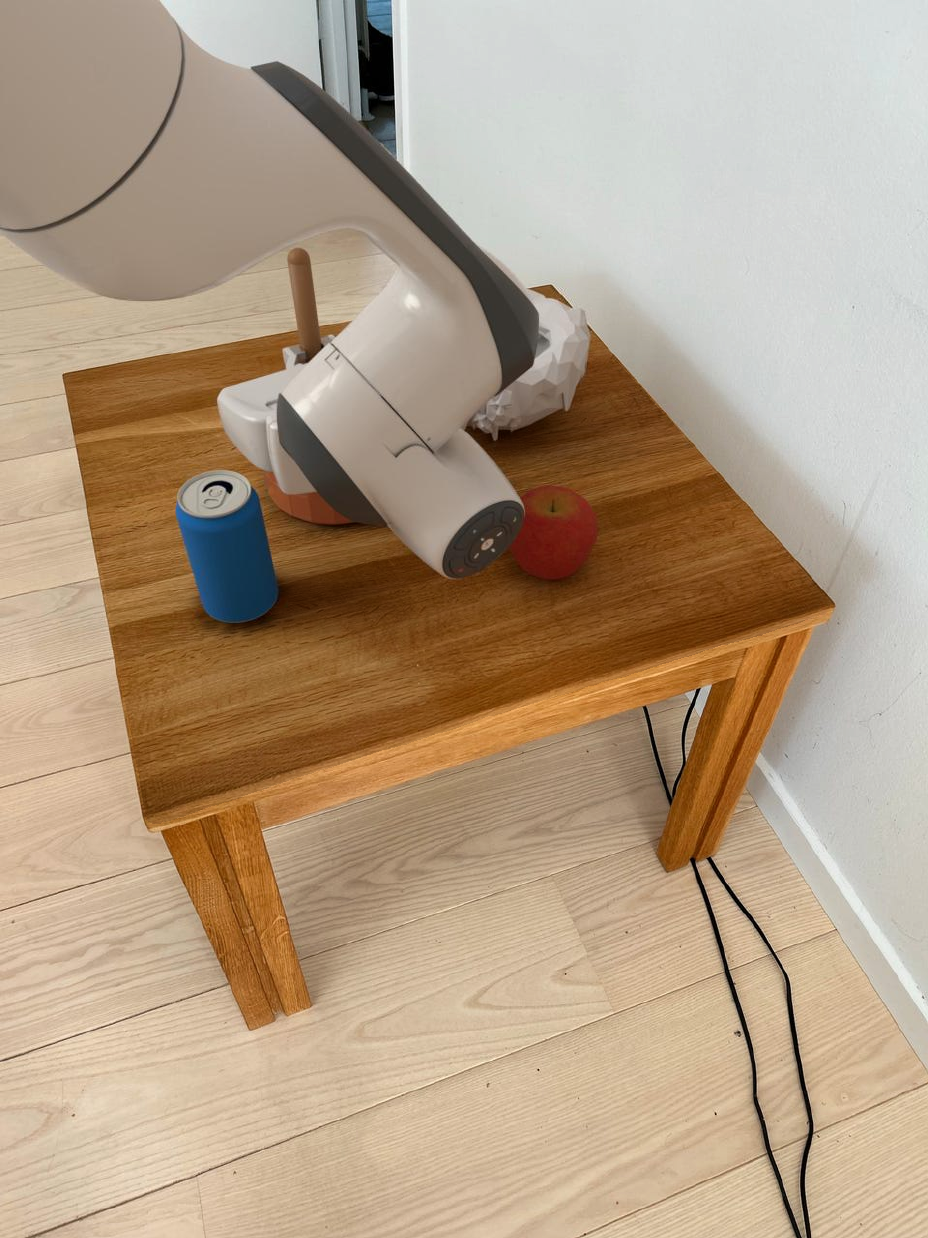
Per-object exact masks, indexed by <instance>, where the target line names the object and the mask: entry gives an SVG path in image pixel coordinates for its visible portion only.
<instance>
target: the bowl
mask: <svg viewBox="0 0 928 1238" xmlns="http://www.w3.org/2000/svg"><path fill="white" fill-rule="evenodd" d="M526 290H527V291H528V293H529V295H530V296H531V299H532V301H533V303H534V306H535V308H536V309H537V311H538V313H539V335H538V343H537V350H536V355H535V360H534V364H533V366H532V367H531V368H530V369H529V370H528V371H526V372H525V373H524V374H523V375H521V376H520V377H519V378H518V379H517V380H515V381H514V382H513V383H512V384H510V385H509V386H508V387H507V388H506V389H504V390H503V391H502V392H501V393H500V394H498V395H497V396H494V397H492V398H491V399H490V400H489V401H488V402H487V403H486V404H485V405H484V406H483V407H482V408H481V409H480V410H479V411H478V412H477V413H476V414H475V415H474V416H473V417H472V418H471V419H470V420H468V421H467V422H466V423H465V424H464V425H463V426H462V427H461V429H462V430H464V431H465V430H466V428H467V427H472V429H473V430H475V429H479V430H481V431H482V432H483V433H485V434H491V436H492V439H493V442H495V441H497V440H498V436H499V435H498V434H499V430H501V431H503V430H504V431H507V430H509V431H510V433H513V431H516V430H518V429H522V428H525V427H528V426H530V425H532V424H535V423H536V422H538V421H540V420H542V419H544V418H546V417H548V416H550V415H552V414H554V413H556V412H558V411H560V410H561V409H563V410H564V411H565V412H568V411H569V409H570V407H571V405H572V402H573V399H574V395H575V393H576V388H577V386H578V384H579V383H580V386H582V384H583V377H584V375H585V373H586V369H587V364H588V363H587V362H588V356H589V350H590V346H591V345H590V341H591V337H592V336H591V332H590V330H589V327H588V322H587V316H586V315H587V314H586V311H585V310H584V309H583V308H581V307H570V305H569V306H568V305H566V304H565V303H563V302H561V301H560V300H557V299H555V298H552V297H550V298H549V297H546V296H545V295H544V294H542V293H539V292H537V291H535V290H533V289H530V288H526Z"/></svg>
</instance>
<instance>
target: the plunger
mask: <svg viewBox="0 0 928 1238" xmlns="http://www.w3.org/2000/svg"><path fill="white" fill-rule="evenodd" d="M286 261H287V268H288V274H289V282H290V289H291V293H292V301H293V302H292V303H293V308H294V314H295V315H294V316H295V321H296V327H297V333H298V341H299V342H298V343H299V345H300V348H303V349H304V350H305V351H306V357H307V359H306V362H307V363H309V362H310V361H311V360H312V359H313V358H314V357H315V356H316V355H317V354H318V353H319V352H320V351H321V350H322V346H321V338H322V337H321V331H320V330H321V329H320V322H319V317H318V316H319V315H318V308H317V301H316V293H315V285H314V278H313V270H312V263H311V256H310V254H309V252H308V251H306V249H304V248H302V247H294V248H292V249H290V251H289V252H288V254H287V257H286Z"/></svg>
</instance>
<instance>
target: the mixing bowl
mask: <svg viewBox="0 0 928 1238" xmlns="http://www.w3.org/2000/svg"><path fill="white" fill-rule="evenodd" d="M263 474H264V478H265V479H264V480H265V485H266V489H267V494H268V496H269V498H271V500H272V501H273V503H274V504H275V506H276V507H277V508H278V509H280V510H282V511H283V512H285V513H287V514H288V515H290V516H291V517H294V518H297V519H300V520H301V521H304V522H307V523H313V524H319V525H327V526H328V525H334V526H336V525H346V524H353V523H355V522H354V521H351V520H349V519H347V518H345V517H344V516H342V515H341V514H339V513H338V512H337V511H335V510H334V509H333V508H332V507H331V506H330V505H329V504H328V503H327V502H326V501H325V500H324V499H323V498H322V497H321V496H320V495H319V494H318V492H311V493H303V494H296V495H289V494H286V493H284V492H283V491H282V490H281V489H280V487H279V485H278V483H277V480H276V477H275V475H274V473H273V472H267V471H264V470H263Z"/></svg>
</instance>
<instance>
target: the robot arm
mask: <svg viewBox="0 0 928 1238" xmlns="http://www.w3.org/2000/svg"><path fill="white" fill-rule="evenodd" d="M342 230H353V231H357V232H359V233H360V234H362V235H363V237H365V238H366V239H367V240H368V241H370V242H371V243H372V244H373V245H374V246H375V247H376V248H378V249H379V250H380V251H381V252H382V253H383V254H384V255H386V257H388V258H389V259H390V260H391V261H392V262H393V263H394V264H396V265H397V267H396V268H395V271H394V273H393V275H392V276H391V279H390V280H389V282H388V283H387V284H386V285H385V287H384V288H383V289H382V291H380V292H379V294H378V295H377V296H376V297H374V298H373V300H371V301H370V302H369V304H368V305H366V307H364V309H362V310H361V312H360V313H359V314H357V315H356V317H354V318H353V319H352V321H350V322H349V324H347V325H346V326H345V328H343V329H342V330H341V331H340V332H339V333H338V334H337V335H336V336H335V335H334V334H328V335H324V336H322V337H320V338H321V346H322V350H321V351H320V352H319V353H318V354H317V355H316V356H315V357H314V358H313V359H312V360H311V361H310V362H309V363H307V362H306V359H307V357H306V351H305V350H304V349H303V348H300V343H299V344H295V345H291V346H287V347H284V348H282V351H281V352H282V357H283V363H284V365H285V369H283V370H280V371H276V372H273V373H270V374H267V375H263V376H260V377H256V378H253V379H250V380H246V381H243V382H241V383H237V384H233V385H230V386H227V387H224V388H222V390H220V392H219V394H218V396H217V398H216V404H217V409H218V415H219V418H220V422H221V425H222V428H223V431H224V433H225V434H226V436H227V438H228V439H229V440H230V442H231V443H232V444H233V445H234V447H235V448H236V449H237V450H238V451H239V452H240V453H241V454H242V455H243V456H244V458H246V459H247V460H248V461H249V462H250V463H251V464H252V465H253V466H255V467H256V468H258V469H259V470H262V471H263V472H264V471H267V472H273V473H274V475H275V477H276V480H277V483H278V485H279V487H280V489H281V490H282V491H283V492H284V493H286V494H289V495H296V494H303V493H311V492H318V494H319V495H320V496H321V497H322V498H323V499H324V500H325V501H326V502H327V503H328V504H329V505H330V506H331V507H332V508H333V509H334V510H335V511H337V512H338V513H339V514H341V515H342V516H344V517H345V518H347V519H349V520H351V521H354V522H353V523H358V524H364V525H369V526H374V527H377V526H378V527H388V528H389V529H390V530H391V531H392V533H394V535H396V537H397V538H398V539H399V540H400V541H401V542H402V543H403V544H404V545H405V546H406V547H407V548H408V549H410V551H411V552H412V553H413V554H415V555H416V556H417V557H418V559H420V560H421V561H423V562H424V563H425V565H427V566H429V568H431V569H433V570H434V571H435V572H437V573H438V574H439V575H441V576H442V577H444V578H446V579H450V580H462V579H466V578H470V577H472V576H475V575H476V574H478V573H481V572H483V571H484V570H485V569H487V568H488V567H489V566H490V565H492V564H493V563H494V562H495V561H497V559H498V558H499V557H501V556H502V555H503V554H504V553H505V552H506V551H507V550H508V548H509V546H510V545H511V544H512V543H513V542H514V540H515V539H516V537H517V535H518V533H519V531H520V529H521V527H522V524H523V521H524V516H525V510H524V505H523V503H522V501H521V499H520V497H521V496H519V494H518V492H517V491H516V489H515V487H514V486H513V484H512V483H511V482H510V480H509V479H508V478H507V476H506V475H505V474H504V472H503V471H502V470H501V468H500V467H499V466H498V465H497V463H496V462H495V460H494V459H493V458H492V457H491V456H490V455H489V454H488V453H487V451H485V449H484V448H483V447H482V446H481V445H480V444H479V443H478V442H477V441H476V439H474V438H473V437H472V436H471V435H470V434H469V433H468V432H466V431H465V430H462V429H461V427H462V426H463V425H464V424H465V423H466V422H467V421H468V420H470V419H471V418H472V417H473V416H474V415H475V414H476V413H477V412H478V411H479V410H480V409H481V408H482V407H483V406H484V405H485V404H486V403H487V402H488V401H489V400H490V399H491V398H492V397H494V396H497V395H498V394H500V393H501V392H502V391H503V390H504V389H506V388H507V387H508V386H509V385H510V384H512V383H513V382H514V381H515V380H517V379H518V378H519V377H520V376H521V375H523V374H524V373H525V372H526V371H528V370H529V369H530V368H531V367H532V366H533V364H534V360H535V355H536V350H537V343H538V335H539V313H538V311H537V309H536V308H535V306H534V303H533V301H532V299H531V296H530V295H529V293H528V291H527V290H526V289H527V288H526V287H525V285H524V284H523V282H522V281H521V279H519V277H518V276H517V275H516V273H515V272H513V271H512V269H511V268H510V267H509V266H508V265H506V264H505V263H504V262H503V261H502V260H501V259H500V258H498V257H497V256H496V255H495V254H493V253H492V252H491V251H489V250H487V249H486V248H484V247H483V246H482V245H480V244H479V243H477V242H475V241H474V240H473V239H472V238H471V237H470V236H469V235H468V234H467V233H466V232H465V231H464V230H463V229H462V227H461V226H460V225H459V224H458V223H457V222H456V221H455V220H454V218H452V217H451V215H450V214H449V213H448V212H447V211H445V209H444V208H443V207H442V206H441V205H440V204H439V203H438V202H437V200H436V199H434V198H433V196H432V195H431V194H430V193H429V192H428V191H427V190H426V189H425V188H424V187H423V186H422V185H421V184H420V183H419V182H418V181H417V179H416V178H415V177H414V176H413V175H412V174H411V173H410V172H409V171H408V170H407V168H405V167H404V166H403V164H401V162H400V161H399V160H398V159H397V158H396V157H395V156H394V155H393V154H392V153H391V151H389V149H387V148H386V147H385V145H384V144H383V143H382V142H379V140H378V139H377V138H375V137H374V136H373V135H372V134H371V132H369V131H368V130H367V129H366V128H365V127H364V125H362V124H361V123H360V122H359V121H358V120H357V119H356V118H355V117H354V116H353V115H352V114H351V113H350V112H349V111H348V110H347V109H346V108H345V107H344V106H342V105H341V103H339V102H338V101H337V100H336V99H335V98H333V97H332V96H331V95H330V94H329V93H328V92H326V90H325V89H323V88H322V87H320V86H319V85H318V84H317V83H316V82H314V81H312V80H311V79H310V78H308V77H307V75H304V74H303V73H301V72H300V71H298V70H296V69H294V68H293V67H291V66H289V65H286V64H285V63H282V62H280V61H279V60H275V61H271V62H266V63H262V64H257V65H253V66H250V68H247V67H243V66H239V65H236V64H233V63H230V62H227V61H225V60H223V59H220V58H218V57H216V56H215V55H212V54H211V53H210V52H208V51H206V50H205V49H203V48H202V47H201V46H200V45H198V44H197V43H196V42H195V41H194V40H193V39H192V38H191V37H190V36H189V35H188V34H187V33H186V32H185V31H184V30H183V28H182V27H181V26H180V25H179V23H178V22H177V21H176V19H175V18H174V17H173V16H172V14H171V13H170V12H169V11H168V9H167V8H166V7H165V5H164V4H163V3H162V1H160V0H0V234H1V235H2V236H4V237H5V238H6V239H7V240H8V241H10V242H11V243H13V244H14V245H15V246H16V247H18V248H19V249H21V250H22V251H23V252H25V253H26V254H27V255H29V256H30V257H32V258H33V259H35V260H36V261H37V262H39V263H41V264H42V265H44V266H45V267H47V268H48V269H49V270H51V271H53V272H54V273H56V274H57V275H59V276H61V278H64V279H66V280H67V281H68V282H71V283H73V284H74V285H76V286H78V287H80V288H82V289H83V290H86V291H88V292H90V293H93V294H96V295H98V296H101V297H104V298H109V299H114V300H119V301H129V302H159V301H161V302H162V301H170V300H176V299H182V298H186V297H190V296H194V295H198V294H201V293H204V292H207V291H209V290H213V289H214V288H216V287H219V286H221V285H223V284H226V283H228V282H229V281H231V280H233V279H235V278H237V277H238V276H240V275H241V274H243V273H244V272H246V271H248V270H250V269H251V268H254V267H255V266H256V265H258V264H260V263H262V262H264V261H265V260H267V259H268V258H271V257H273V256H274V255H276V254H278V253H280V252H282V251H284V250H286V249H288V248H290V247H293V246H295V245H298V244H299V243H302V242H305V241H307V240H309V239H312V238H314V237H317V236H321V235H324V234H326V233H331V232H335V231H342Z"/></svg>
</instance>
